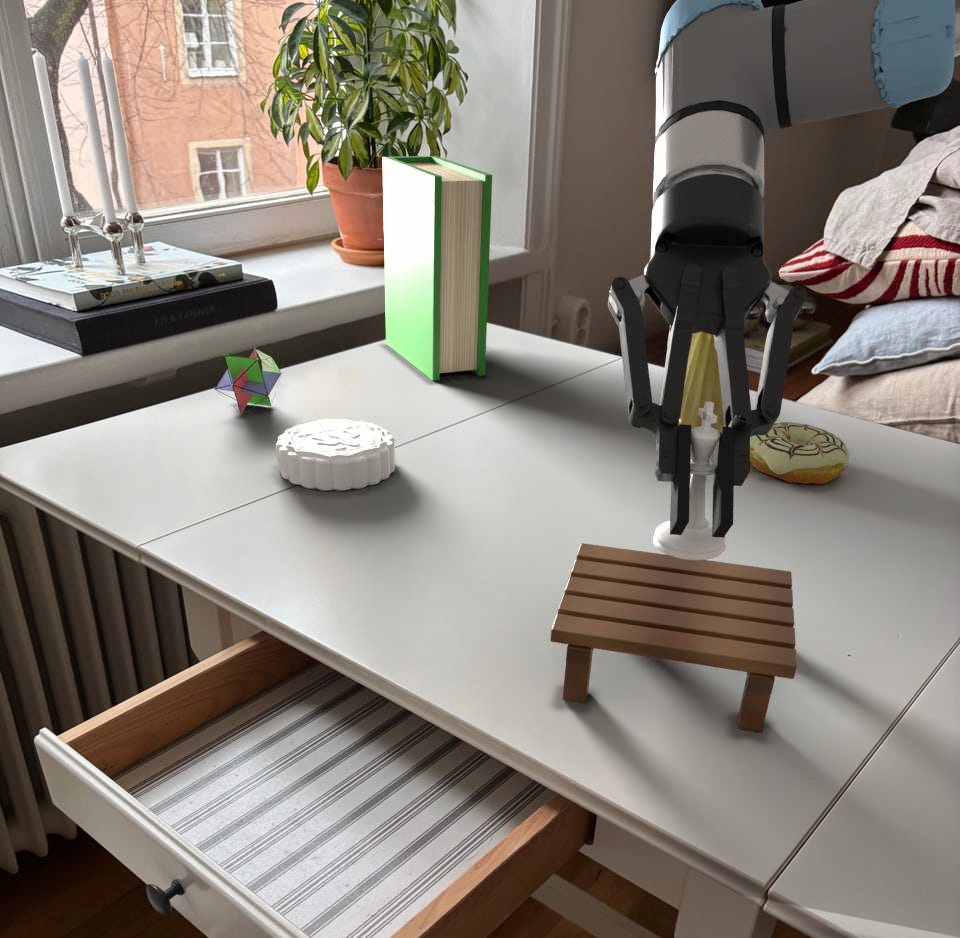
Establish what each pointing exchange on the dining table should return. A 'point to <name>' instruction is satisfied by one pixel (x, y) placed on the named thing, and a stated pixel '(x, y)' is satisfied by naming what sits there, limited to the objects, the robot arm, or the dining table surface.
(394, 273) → the hardback book
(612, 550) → the bench
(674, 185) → the robot arm
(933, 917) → the dining table surface
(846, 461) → the decorated donut
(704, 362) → the vase
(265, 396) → the geometric puzzle
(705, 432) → the chess piece
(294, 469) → the mooncake
